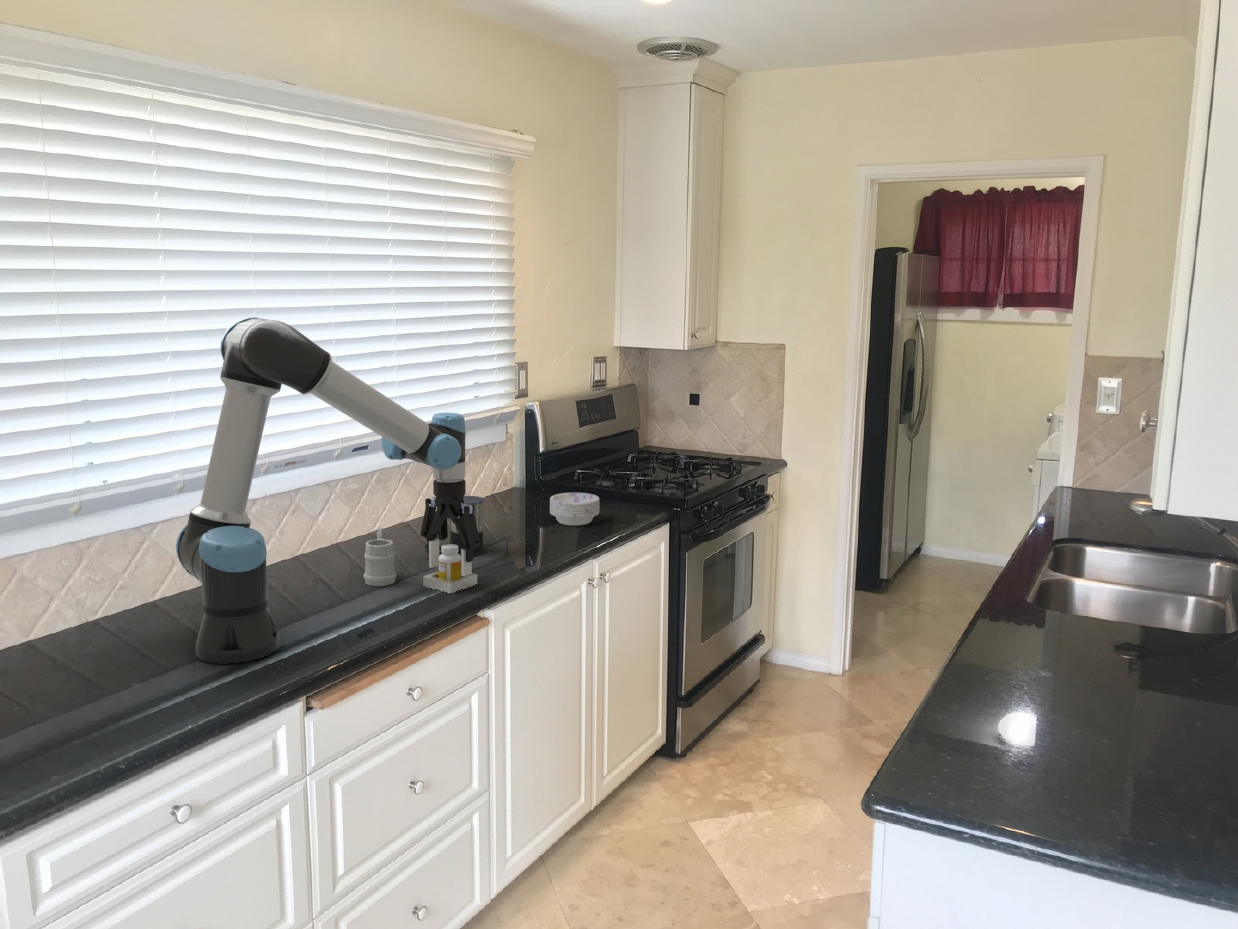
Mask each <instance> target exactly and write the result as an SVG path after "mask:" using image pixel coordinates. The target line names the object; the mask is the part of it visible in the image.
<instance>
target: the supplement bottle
mask: <svg viewBox="0 0 1238 929" xmlns="http://www.w3.org/2000/svg"><path fill="white" fill-rule="evenodd" d="M441 551H442V554H441V555H440V556H439V566H438V571H439V578H440V579H444V580H448V581H453V580H456V579H459V578H462V576H461V556H460V555H459V554H457V553H458V545H454V544H450V543H449V544H443V545H441Z"/></svg>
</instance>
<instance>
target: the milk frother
mask: <svg viewBox="0 0 1238 929" xmlns="http://www.w3.org/2000/svg"><path fill="white" fill-rule="evenodd" d="M463 499H464V502H465V504H467V505H472V504H473V505H474V506H475V512H474V515H475V520H476V524H477V529H478V534H479V538H480V543H481V544H480V546H477V547H474V549H473V557H475V556H480V555H482V554H484V553H485V549H484V502H485V501H486V500H485V498H484V497H481V496H476V495H464V498H463ZM459 517H460V516H459ZM459 517H458V518H459ZM449 526H450V533H449V532H448V518H447V517H446V518H445V520H444V522H443V524H442V526H441V529H440V531H439V533H438V535H437V536H438V538H437V539H438V540H439V541H445V540H446V539H448V536H449V535H448V534H450V538H449V539H450V540H449V541H450V542H449V544H454V545H458V553H457V554H459V555H460V556H461V549H462V548H464V546H463V543H462V541H461V539H460V536H459V534H458V531H457V529H456V526H455V524H454V523H453V522H452V520H451V519H450V524H449ZM468 543H469V542H468ZM441 547H442V545H441V546H440V545H439V556H440V555H441V554H442V551H441ZM424 551H425V553H426V554H427V555H428V556H429V553H428V551H427V544H425V545H424Z"/></svg>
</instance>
